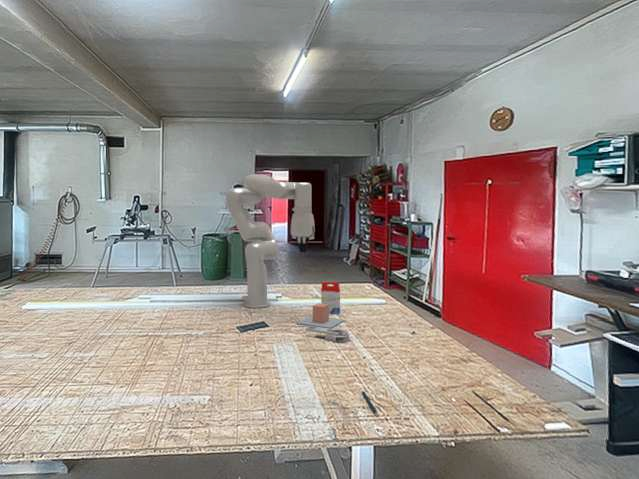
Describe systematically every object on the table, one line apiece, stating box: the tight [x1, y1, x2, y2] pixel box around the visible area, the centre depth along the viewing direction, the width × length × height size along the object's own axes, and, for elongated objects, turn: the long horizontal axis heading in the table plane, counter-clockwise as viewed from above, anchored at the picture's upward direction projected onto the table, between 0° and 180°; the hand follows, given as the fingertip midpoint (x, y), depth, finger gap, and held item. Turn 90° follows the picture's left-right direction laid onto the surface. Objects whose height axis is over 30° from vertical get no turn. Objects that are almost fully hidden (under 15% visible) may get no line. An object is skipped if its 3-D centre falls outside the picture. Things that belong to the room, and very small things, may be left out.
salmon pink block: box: [312, 302, 330, 323], centre depth 210 cm, size 5×5×7 cm
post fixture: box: [296, 315, 345, 329], centre depth 210 cm, size 16×14×7 cm
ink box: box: [320, 281, 341, 315], centre depth 227 cm, size 8×5×15 cm, turn 84°
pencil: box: [361, 391, 379, 418], centre depth 129 cm, size 1×1×15 cm
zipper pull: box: [305, 326, 350, 344], centre depth 188 cm, size 8×18×4 cm, turn 62°
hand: (303, 251), depth 218 cm, fingers closed
